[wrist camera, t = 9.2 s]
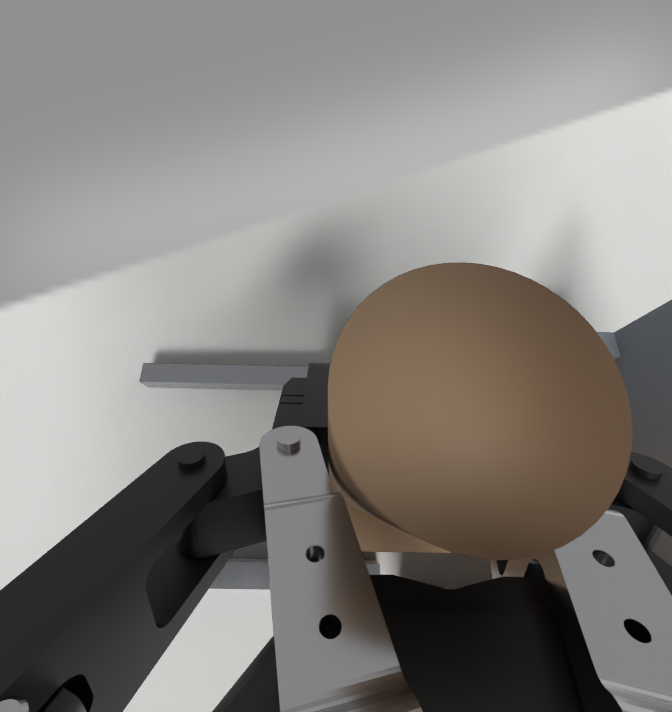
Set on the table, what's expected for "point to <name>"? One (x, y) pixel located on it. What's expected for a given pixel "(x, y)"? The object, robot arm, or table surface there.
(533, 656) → the robot arm
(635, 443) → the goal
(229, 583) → the track
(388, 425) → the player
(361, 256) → the table surface
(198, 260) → the table surface
